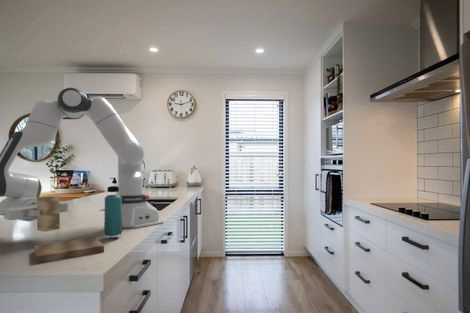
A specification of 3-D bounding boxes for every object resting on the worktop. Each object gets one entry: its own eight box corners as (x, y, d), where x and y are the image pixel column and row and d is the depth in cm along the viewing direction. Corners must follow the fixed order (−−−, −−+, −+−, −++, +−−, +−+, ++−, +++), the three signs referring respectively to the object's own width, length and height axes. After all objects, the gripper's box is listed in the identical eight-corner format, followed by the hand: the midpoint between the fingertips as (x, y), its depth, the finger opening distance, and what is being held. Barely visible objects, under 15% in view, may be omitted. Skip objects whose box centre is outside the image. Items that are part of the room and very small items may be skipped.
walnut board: (94, 242, 103) (95, 237, 103) (104, 251, 91) (104, 245, 92) (34, 252, 92) (34, 245, 92) (36, 263, 81) (36, 256, 81)
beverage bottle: (125, 237, 109) (125, 186, 110) (107, 241, 105) (107, 187, 105) (118, 235, 114) (118, 185, 115) (101, 238, 109) (101, 186, 110)
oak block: (51, 227, 106) (51, 195, 106) (59, 228, 103) (59, 195, 104) (37, 230, 101) (37, 196, 102) (45, 231, 99) (45, 197, 99)
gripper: (-4, 204, 99) (17, 206, 93) (55, 198, 118) (76, 199, 111) (-4, 222, 99) (17, 226, 93) (55, 213, 117) (76, 215, 111)
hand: (49, 211), depth 102 cm, fingers closed on oak block, 5 cm apart
